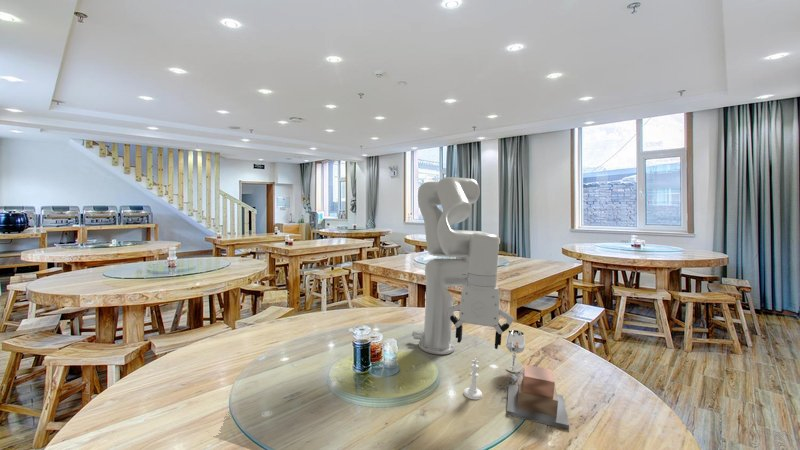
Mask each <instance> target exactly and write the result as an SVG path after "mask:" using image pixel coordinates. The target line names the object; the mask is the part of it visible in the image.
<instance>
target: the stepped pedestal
mask: <svg viewBox="0 0 800 450" xmlns="http://www.w3.org/2000/svg"><path fill="white" fill-rule="evenodd" d="M507 388H508V389H507V390H508V391H507V405H506V416H510V417H515V418H518V417H520V418H519V419H522V418H523V420H528V421H532V422H536V423H540V424H545V425H549V426H552V427H557V428H562V429H566V430H570V422H569V419H568V413H567V409H566V405H565V400H564V395H563V394H558V392H557V387H556V382H555V377H554V372H553V369H549V368H545V367H539V366H534V365H529V364H523V374H522V376H519V377H518V385H515V384H511V383H509V384H508V387H507Z"/></svg>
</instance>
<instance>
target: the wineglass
mask: <svg viewBox="0 0 800 450" xmlns="http://www.w3.org/2000/svg"><path fill="white" fill-rule="evenodd" d="M525 346H526V338H525V333H524V332H522V331H521V330H516V329H510V330H509V329H508V332H507V335H506V338H505V347H506V349H507V351H509V352H510V353H512V367H509V368H510V369H512V370H515V369H516V368H517V367H516V366H515V359H516V358H517V355H516V354H520V353H522V352H523V351H524V350H525ZM515 367H516V368H515Z"/></svg>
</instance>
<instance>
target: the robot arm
mask: <svg viewBox="0 0 800 450" xmlns="http://www.w3.org/2000/svg"><path fill="white" fill-rule="evenodd" d="M480 189H481V188H480V185H479V182H477V180H475V179H474V178H468V177H466V178H465V177H457V176H456V177H455V176H447V177H443V178H441V179H440V180H439V181H426V182H423V183H422V184H420V186H419V188H418V192H417V203H418V207H419V210H420V213H421V216H422V219H423V221H424V232H425V233H424V234H425V242H426V249H427V252H428V254H429V255H431V256H433V257H447V258H432V259H430V260H428V262H426V264H425V267H424V274H425V275H424V276H425V277H424V278H425V288H426V289H425V290H426V291H425V310H424V324H423V325H424V327H423V331H421V332H419V331H415V330H412V334H411V336H412V338H413V339H414V340H419V342H418V347H419V349H420V350H422V351H423V352H425V353H428V354H431V355H432V354H433V355H442V356H443V355H449V354H452V353H453V352H454V351H455V348H456V345H455V344H454V342H452V338H451V337H452V324H453V325H454V327H455V339H457V343H459V344H460V343H462V340H463V339H462V338H463V323H465V324H469V325H470V324H471V325H477V326H484V327H492V328H494V330H495V336H494V349H495V350H498V349H499V346H501V345H502V344H501V342H502V334H503V333H504V332H505V331H507V330H509V328H510V326H511V325H512V324H513V322H514V321H515V320H514V319H515V318H514V316H512V315H511V314H509V313H508V312H507V311H504V310H503V309H502V308H501V303H500V302H501V301H500V300H501V299H500V298H501V297H500V289H499V286H497V274H498V264H499V263H498V260H499V243H500V239H499V237H498V236H497V235H496V234H493V233H487V232H485V231H482V230H467V229H465V230H462V229H452V228H451V227H452V226H455V225H457V224H460V223H461V222H464V221H466V220H467V219H468V218H469V217H470V215H471V213H472V204H475V203H476V202H477V201H478V200H479V197H480V195H481V192H480V191H481V190H480ZM438 206H441V207H442V210H441V208H439V207H438ZM448 257H449V258H448ZM451 257H453V258H451ZM454 257H455V258H454ZM450 287H462V290H461V294H460V295H461V296H460V302H459V303H458V304H455V305H454V299H453V294H452V293H451V292H450V291H449V289H448V288H450ZM457 311H459V313H458V315H459V316H458V317H457V316H456V315H455V314H454V312H457ZM500 316H501V317H502V318H504V319H505V320H506V321H505V322H504V323H503V324H500ZM458 318H459V319H458Z"/></svg>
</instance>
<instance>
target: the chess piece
mask: <svg viewBox="0 0 800 450" xmlns="http://www.w3.org/2000/svg"><path fill="white" fill-rule="evenodd" d="M479 361H480V360H477V358H474V360H473V359H472V360H471V363H472V364H471V365H470V367H471V371H472V372H470V376H471V377H472V378H471V381H470V382H471V383H470V386H469V387H466V388H464V389H463V390H464V391H463V395H464V396H465V397H466V398H468V399H469V400H470V399H471V400H476V401H477V400H480V399H482V398H483V393H482V390H481V389H479V388H478V386H477V377H479V373H477V372H478V369H479V367H480V366H479V365H478V364H479ZM481 397H482V398H481Z"/></svg>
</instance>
